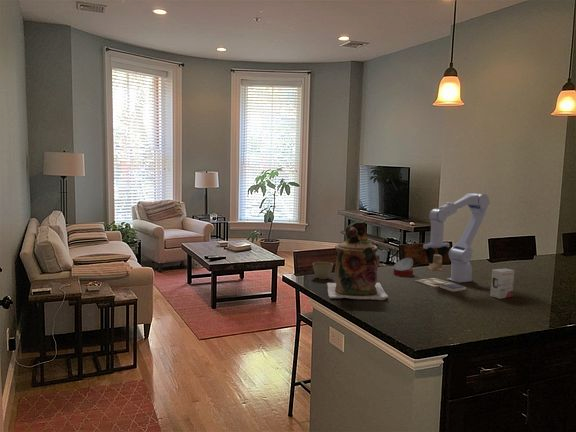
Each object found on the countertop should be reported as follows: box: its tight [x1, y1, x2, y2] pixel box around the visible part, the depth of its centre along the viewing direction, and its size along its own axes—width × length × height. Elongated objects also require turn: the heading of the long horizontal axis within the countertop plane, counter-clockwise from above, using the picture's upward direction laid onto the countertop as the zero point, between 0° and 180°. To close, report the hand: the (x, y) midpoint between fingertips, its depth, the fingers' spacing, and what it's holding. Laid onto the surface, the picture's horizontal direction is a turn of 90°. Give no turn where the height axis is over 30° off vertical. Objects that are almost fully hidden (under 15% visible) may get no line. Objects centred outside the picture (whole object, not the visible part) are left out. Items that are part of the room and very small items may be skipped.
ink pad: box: [439, 283, 467, 292], centre depth 226 cm, size 8×8×1 cm
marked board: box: [414, 277, 456, 288], centre depth 236 cm, size 13×13×1 cm
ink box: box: [489, 267, 515, 300], centre depth 213 cm, size 9×5×12 cm, turn 116°
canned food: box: [392, 257, 414, 277], centre depth 254 cm, size 11×10×10 cm
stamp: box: [428, 253, 443, 272], centre depth 235 cm, size 5×5×7 cm
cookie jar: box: [326, 219, 389, 301], centre depth 213 cm, size 25×25×32 cm
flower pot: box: [312, 261, 334, 280], centre depth 242 cm, size 10×10×7 cm
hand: (435, 262), depth 235 cm, fingers closed on stamp, 6 cm apart
